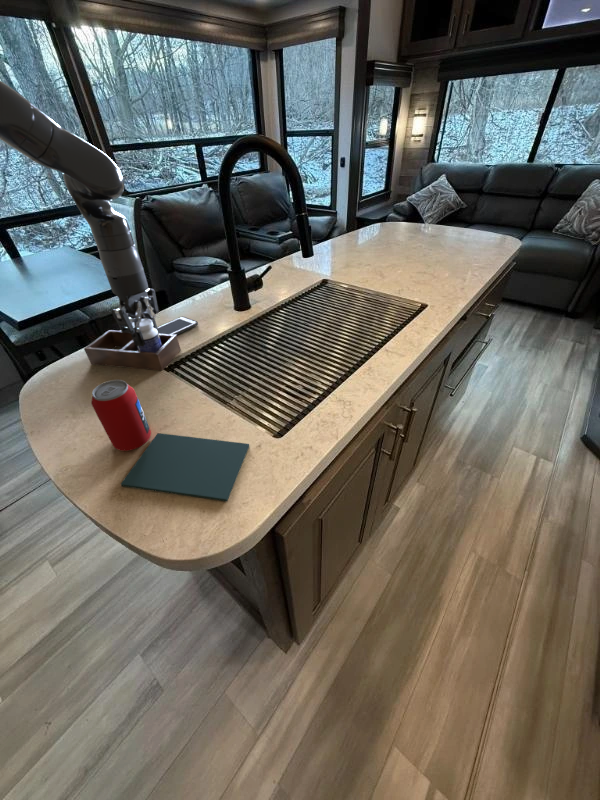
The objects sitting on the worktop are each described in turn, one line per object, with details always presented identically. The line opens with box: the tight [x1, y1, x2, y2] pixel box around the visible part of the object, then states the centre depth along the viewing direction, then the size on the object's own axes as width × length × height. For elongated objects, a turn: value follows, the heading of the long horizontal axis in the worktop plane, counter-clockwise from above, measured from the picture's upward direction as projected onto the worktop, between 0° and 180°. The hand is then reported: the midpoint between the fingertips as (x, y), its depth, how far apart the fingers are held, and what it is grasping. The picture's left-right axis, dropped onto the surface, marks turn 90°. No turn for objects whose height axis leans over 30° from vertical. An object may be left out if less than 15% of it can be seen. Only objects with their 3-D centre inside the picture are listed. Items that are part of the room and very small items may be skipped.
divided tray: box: [83, 329, 182, 371], centre depth 84 cm, size 19×10×4 cm, turn 80°
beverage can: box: [91, 379, 152, 452], centre depth 58 cm, size 7×7×12 cm
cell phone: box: [157, 315, 199, 336], centre depth 97 cm, size 8×15×1 cm, turn 144°
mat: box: [120, 432, 250, 503], centre depth 57 cm, size 18×12×1 cm, turn 80°
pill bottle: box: [132, 318, 162, 353], centre depth 82 cm, size 6×6×10 cm
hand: (147, 339), depth 82 cm, fingers closed on pill bottle, 5 cm apart
